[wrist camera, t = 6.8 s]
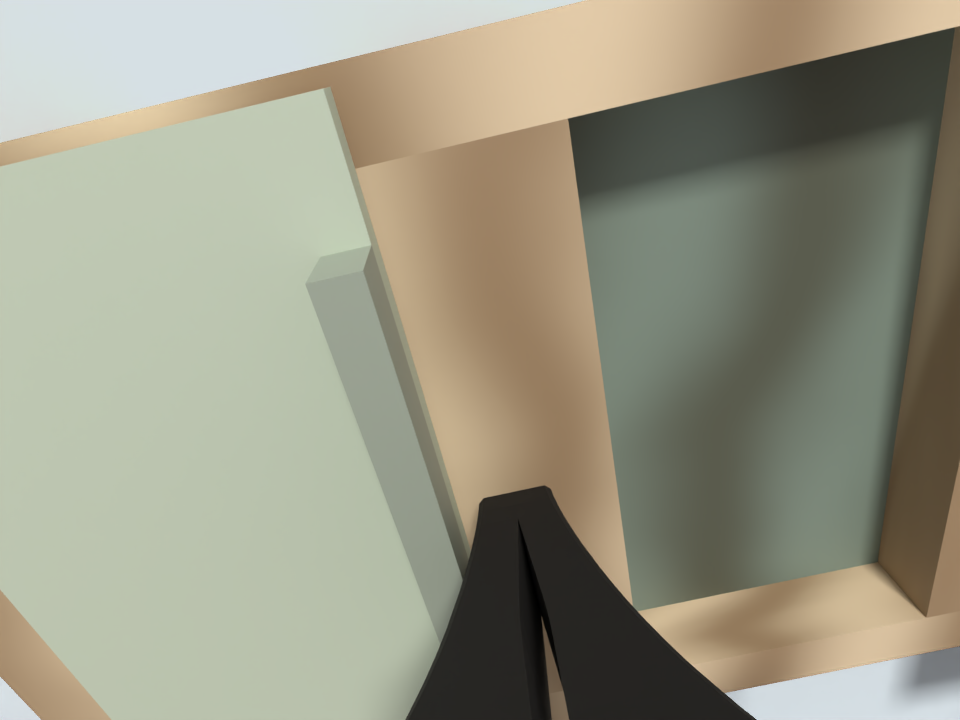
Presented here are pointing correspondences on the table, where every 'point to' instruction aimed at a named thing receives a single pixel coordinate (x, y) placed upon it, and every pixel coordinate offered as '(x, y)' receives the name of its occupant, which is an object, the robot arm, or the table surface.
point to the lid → (218, 427)
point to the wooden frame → (671, 307)
